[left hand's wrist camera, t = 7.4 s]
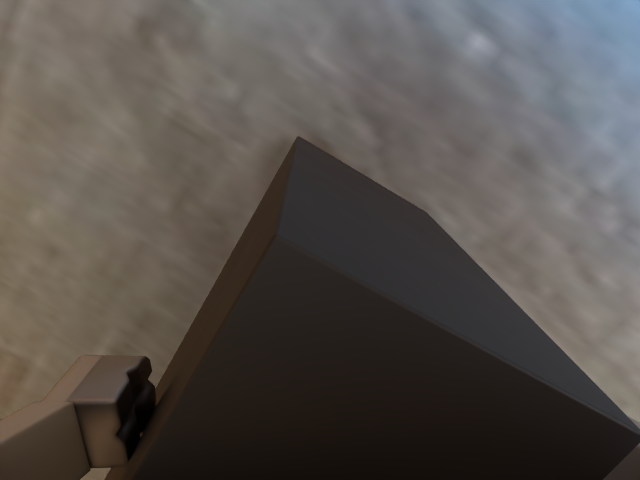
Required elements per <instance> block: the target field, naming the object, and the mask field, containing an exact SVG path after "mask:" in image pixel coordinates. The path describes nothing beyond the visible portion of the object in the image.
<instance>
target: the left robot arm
mask: <svg viewBox="0 0 640 480" xmlns="http://www.w3.org/2000/svg"><path fill="white" fill-rule="evenodd" d="M151 372H152V368H151V364H150V359H148V358H147V357H146V356H107V355H106V356H102V355H85V356H82V357H79V358H78V360H77V361H76V362H75V363H74V364H73V365H72V367H71V368H70V369H69V370H68V371H67V372H66V374H65V375H64V376H63V377H62V378H61V380H60V381H59V382H58V383H57V384H56V385H55V387H54V388H53V389H52V390H51V391H50V392H49V394H48V395H47V396H46V397H45V398H44V400H43V401H42V402H33V403H32V404H30V405H28V406H26V407H24V408H22V409H20V410H18V411H16V412H14V413H13V414H11V415H9V416H7V417H5V418H3V419H1V420H0V480H80V479H81V478H82V477H83V476H84V475H86V474H87V473H88V472H89V471H90V468H112V467H126V466H127V464H128V462H129V460H130V458H131V456H132V454H133V452H134V450H135V448H136V446H137V444H138V442H139V440H140V433H142V432H143V431H144V429H145V427H146V425H147V423H148V421H149V419H150V417H151V415H152V413H153V411H154V409H155V407H156V392H155V386H154V385H153V384H152V383H151V382H150V381H149V380H148V378H149V376H150V374H151ZM627 417H628V416H627ZM628 418H629V419H630V420H631V421H632V422H633V423H634V424H635V425H636V426H637V427H638V428H639V429H640V423H639V422H637V421H635V420H634V419H632V418H630V417H628ZM603 480H640V444H639V445H638V446H637V447H636V448H635V449H634V450H633V451H632V452H631V453H630V454H629V455H628V456H626V457H625V458H624V459H623V460H622V461H621V462H620V463H619V464H618V465H617V466H616V467H615V468H614V469H613V470H612V471H611V472H610V473H609V474H608V475H607V476H606V477H605V478H604V479H603Z"/></svg>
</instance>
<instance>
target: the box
mask: <svg viewBox="0 0 640 480" xmlns="http://www.w3.org/2000/svg"><path fill="white" fill-rule="evenodd" d="M155 392H156V407H155V409H154V411H153V413H152V415H151V417H150V419H149V421H148V423H147V425H146V427H145V429H144V431H143V432H142V433H140V440H139V442H138V444H137V446H136V448H135V450H134V452H133V454H132V456H131V458H130V460H129V462H128V464H127V466H126V467H112V468H111V469H110V471H109V473H108V475H107V476H106V478H105V480H603V479H604V478H605V477H606V476H607V475H608V474H609V473H610V472H611V471H612V470H613V469H614V468H615V467H616V466H617V465H618V464H619V463H620V462H621V461H622V460H623V459H624V458H625V457H626V456H628V455H629V454H630V453H631V452H632V451H633V450H634V449H635V448H636V447H637V446H638V445H639V444H640V429H639V428H638V427H637V426H636V425H635V424H634V423H633V422H632V421H631V420H630V419H629V418H628V417H627V415H626V414H625V413H624V412H623V411H622V410H621V409H620V408H619V407H618V406H617V405H616V404H615V403H614V402H613V401H612V400H611V399H610V398H609V397H608V396H607V395H606V394H605V393H604V392H603V391H602V390H601V389H600V388H599V387H598V386H597V385H596V384H595V383H594V382H593V381H592V380H591V379H590V378H589V377H588V376H587V375H586V374H585V373H584V372H583V371H582V370H581V369H580V368H579V367H578V366H577V365H576V364H575V363H574V362H573V361H572V360H571V359H570V358H569V357H568V356H567V355H566V354H565V353H564V352H563V351H562V349H561V348H560V347H559V346H558V345H557V344H556V343H555V342H554V341H553V340H552V339H551V338H550V337H549V336H548V335H547V334H546V333H545V332H544V331H543V330H542V329H541V328H540V327H539V326H538V325H537V324H536V323H535V322H534V321H533V320H532V319H531V318H530V317H529V316H528V315H527V314H526V313H525V312H524V311H523V310H522V309H521V308H520V307H519V306H518V305H517V304H516V303H515V302H514V301H513V300H512V299H511V298H510V297H509V296H508V295H507V294H506V293H505V292H504V291H503V290H502V289H501V288H500V287H499V286H498V285H497V284H496V282H495V281H494V280H493V279H492V278H491V277H490V276H489V275H488V274H487V273H486V272H485V271H484V270H483V269H482V268H481V267H480V266H479V265H478V264H477V263H476V262H475V261H474V260H473V259H472V258H471V257H470V256H469V255H468V254H467V253H466V252H465V251H464V250H463V249H462V248H461V247H460V246H459V245H458V244H457V243H456V242H455V241H454V240H453V239H452V238H451V237H450V236H449V235H448V234H447V233H446V232H445V231H444V230H443V229H442V228H441V227H440V226H439V225H438V224H437V223H436V222H435V221H434V220H433V219H432V218H431V216H430V215H429V214H428V213H427V212H425V211H423V210H422V209H420V208H418V207H417V206H415V205H413V204H412V203H410V202H408V201H407V200H405V199H403V198H402V197H400V196H398V195H397V194H395V193H393V192H391V191H390V190H388V189H386V188H385V187H383V186H381V185H380V184H378V183H376V182H375V181H373V180H371V179H370V178H368V177H366V176H365V175H363V174H361V173H360V172H358V171H356V170H355V169H353V168H351V167H350V166H348V165H346V164H345V163H343V162H341V161H340V160H338V159H336V158H335V157H333V156H331V155H330V154H328V153H326V152H325V151H323V150H321V149H320V148H318V147H316V146H314V145H313V144H311V143H309V142H308V141H306V140H304V139H303V138H301V137H299V136H298V137H297V138H296V140H295V142H294V143H293V145H292V147H291V149H290V151H289V152H288V154H287V156H286V158H285V159H284V161H283V163H282V165H281V167H280V168H279V170H278V172H277V174H276V175H275V177H274V179H273V181H272V183H271V184H270V186H269V188H268V190H267V191H266V193H265V195H264V197H263V199H262V200H261V202H260V204H259V206H258V208H257V209H256V211H255V213H254V215H253V216H252V218H251V220H250V222H249V224H248V225H247V227H246V229H245V231H244V232H243V234H242V236H241V238H240V240H239V241H238V243H237V245H236V247H235V248H234V250H233V252H232V254H231V256H230V257H229V259H228V261H227V263H226V264H225V266H224V268H223V270H222V272H221V273H220V275H219V277H218V279H217V280H216V282H215V284H214V286H213V288H212V289H211V291H210V293H209V295H208V297H207V298H206V300H205V302H204V304H203V305H202V307H201V309H200V311H199V313H198V314H197V316H196V318H195V320H194V321H193V323H192V325H191V327H190V329H189V330H188V332H187V334H186V336H185V337H184V339H183V341H182V343H181V345H180V346H179V348H178V350H177V352H176V353H175V355H174V357H173V359H172V361H171V362H170V364H169V366H168V368H167V369H166V371H165V373H164V375H163V377H162V378H161V380H160V382H159V384H158V386H157V387H156V389H155Z"/></svg>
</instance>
